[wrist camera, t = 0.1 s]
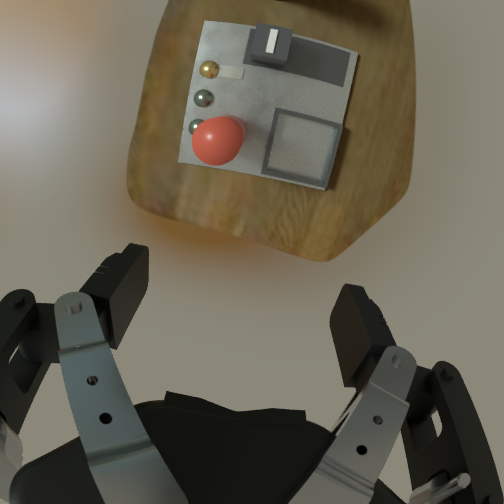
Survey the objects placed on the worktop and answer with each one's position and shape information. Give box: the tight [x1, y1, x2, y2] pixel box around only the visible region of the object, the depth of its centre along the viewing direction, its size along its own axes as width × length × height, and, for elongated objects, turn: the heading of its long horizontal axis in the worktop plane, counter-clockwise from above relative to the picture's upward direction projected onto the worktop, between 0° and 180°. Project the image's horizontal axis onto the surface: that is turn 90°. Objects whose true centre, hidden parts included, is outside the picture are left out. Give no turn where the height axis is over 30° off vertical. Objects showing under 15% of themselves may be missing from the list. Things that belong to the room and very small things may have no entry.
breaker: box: [250, 23, 293, 67], centre depth 27 cm, size 4×4×5 cm
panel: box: [178, 21, 358, 190], centre depth 33 cm, size 20×20×2 cm
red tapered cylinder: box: [192, 115, 247, 166], centre depth 30 cm, size 5×5×11 cm
